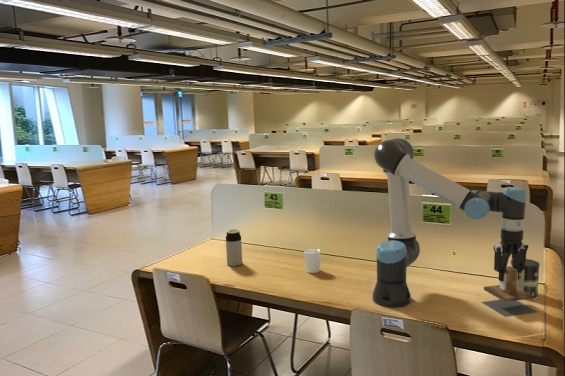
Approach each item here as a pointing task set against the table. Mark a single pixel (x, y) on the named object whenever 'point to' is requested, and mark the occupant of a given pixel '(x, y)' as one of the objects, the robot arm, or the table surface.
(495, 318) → the table surface
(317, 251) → the white cup
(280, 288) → the table surface
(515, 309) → the mat
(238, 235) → the travel mug
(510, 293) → the lid
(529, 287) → the coffee can
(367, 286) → the table surface
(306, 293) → the table surface
